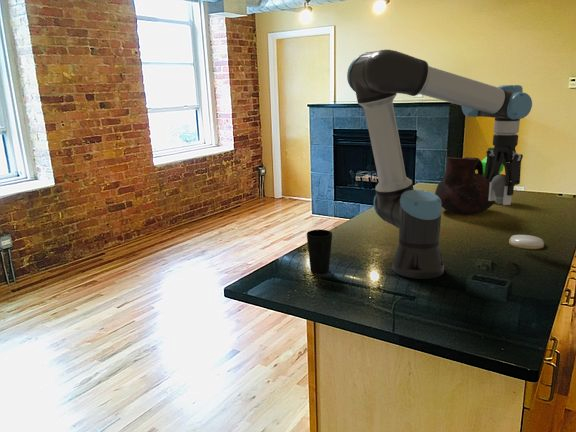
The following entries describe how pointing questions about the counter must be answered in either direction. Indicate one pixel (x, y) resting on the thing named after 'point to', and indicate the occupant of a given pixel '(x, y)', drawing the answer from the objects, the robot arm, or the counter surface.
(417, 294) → the counter surface
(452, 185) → the jug
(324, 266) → the cup
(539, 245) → the white plate
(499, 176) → the light bulb
